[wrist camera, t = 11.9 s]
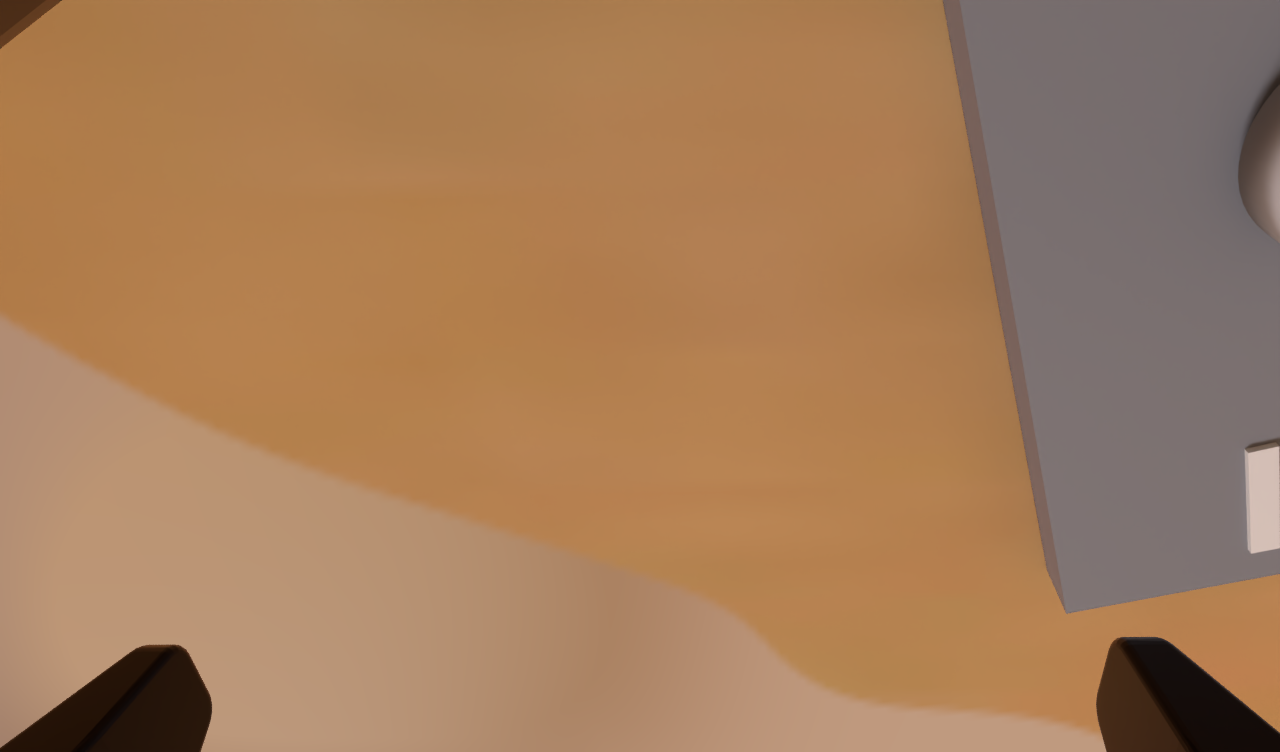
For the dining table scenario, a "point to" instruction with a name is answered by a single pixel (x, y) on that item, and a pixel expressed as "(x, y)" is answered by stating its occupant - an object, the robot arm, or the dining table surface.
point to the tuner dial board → (1132, 281)
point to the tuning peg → (1263, 168)
